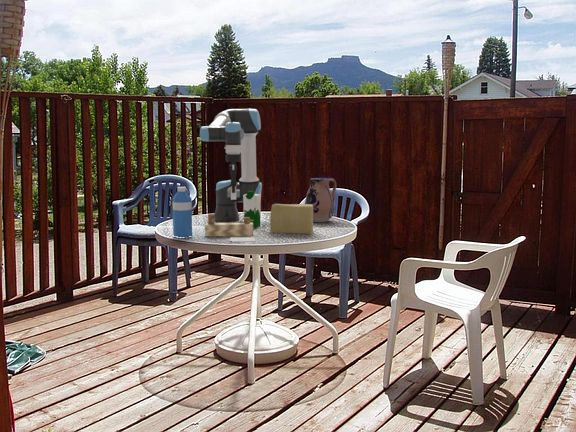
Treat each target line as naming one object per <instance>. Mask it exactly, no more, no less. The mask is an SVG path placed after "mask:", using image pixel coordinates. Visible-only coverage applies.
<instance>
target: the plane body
mask: <svg viewBox="0 0 576 432" xmlns="http://www.w3.org/2000/svg"><path fill="white" fill-rule="evenodd" d="M204 227H205V229H204V234H205V235H204V237H205V236H223V237H254V228H253V223H250V217H244V216H243V222H215V220H214V213H208V214H207V222H205V223H204Z"/></svg>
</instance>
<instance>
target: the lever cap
mask: <svg viewBox="0 0 576 432" xmlns="http://www.w3.org/2000/svg"><path fill="white" fill-rule="evenodd" d="M227 197H231V188H229V189H228V191H227ZM236 197H240V189H236Z"/></svg>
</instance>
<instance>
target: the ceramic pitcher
mask: <svg viewBox="0 0 576 432" xmlns="http://www.w3.org/2000/svg"><path fill="white" fill-rule="evenodd" d="M309 181H310V184H309V188H308V190H307V192H306V197H305V200H304V204H312V205H313V223H326V222H328V221H329V220H330V219H332V218H333V216H334V213H335V202H334V198H335V195H336V191H337V182H336V180H335V179H334V178H333V177H315V178H313V177H311V178H310V179H309ZM330 182H331V183H332V191H331V189H330Z"/></svg>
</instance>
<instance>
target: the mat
mask: <svg viewBox="0 0 576 432" xmlns="http://www.w3.org/2000/svg"><path fill="white" fill-rule="evenodd" d="M230 241H232V242H231V243H256V239H255V236H229V242H230Z"/></svg>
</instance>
